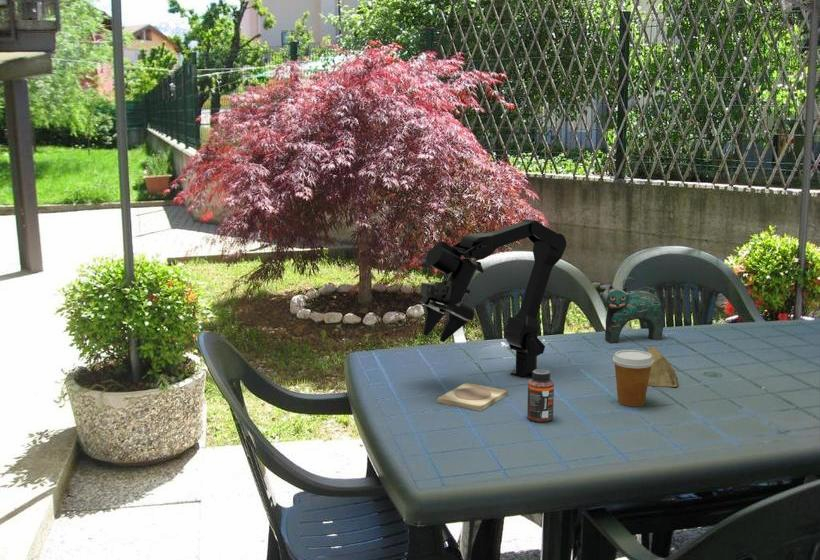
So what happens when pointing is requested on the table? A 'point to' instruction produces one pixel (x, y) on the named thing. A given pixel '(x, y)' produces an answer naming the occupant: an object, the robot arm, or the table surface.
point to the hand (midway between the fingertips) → (433, 338)
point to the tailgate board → (472, 396)
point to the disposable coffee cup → (632, 376)
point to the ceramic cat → (632, 311)
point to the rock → (661, 371)
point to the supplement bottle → (540, 396)
